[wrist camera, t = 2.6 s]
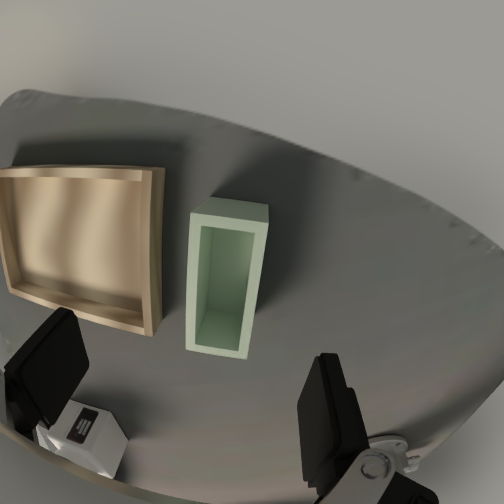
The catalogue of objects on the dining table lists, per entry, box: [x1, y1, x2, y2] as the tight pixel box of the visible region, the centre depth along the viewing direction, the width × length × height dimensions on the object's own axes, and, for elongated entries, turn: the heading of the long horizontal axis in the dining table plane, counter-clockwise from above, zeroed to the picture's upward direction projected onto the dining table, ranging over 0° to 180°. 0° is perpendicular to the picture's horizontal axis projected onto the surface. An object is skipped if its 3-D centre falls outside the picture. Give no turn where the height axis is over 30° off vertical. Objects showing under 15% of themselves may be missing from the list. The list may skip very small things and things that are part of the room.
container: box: [47, 400, 128, 479], centre depth 24 cm, size 8×8×13 cm
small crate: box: [186, 197, 269, 359], centre depth 18 cm, size 4×9×5 cm, turn 173°
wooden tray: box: [0, 164, 166, 337], centre depth 19 cm, size 17×12×2 cm
